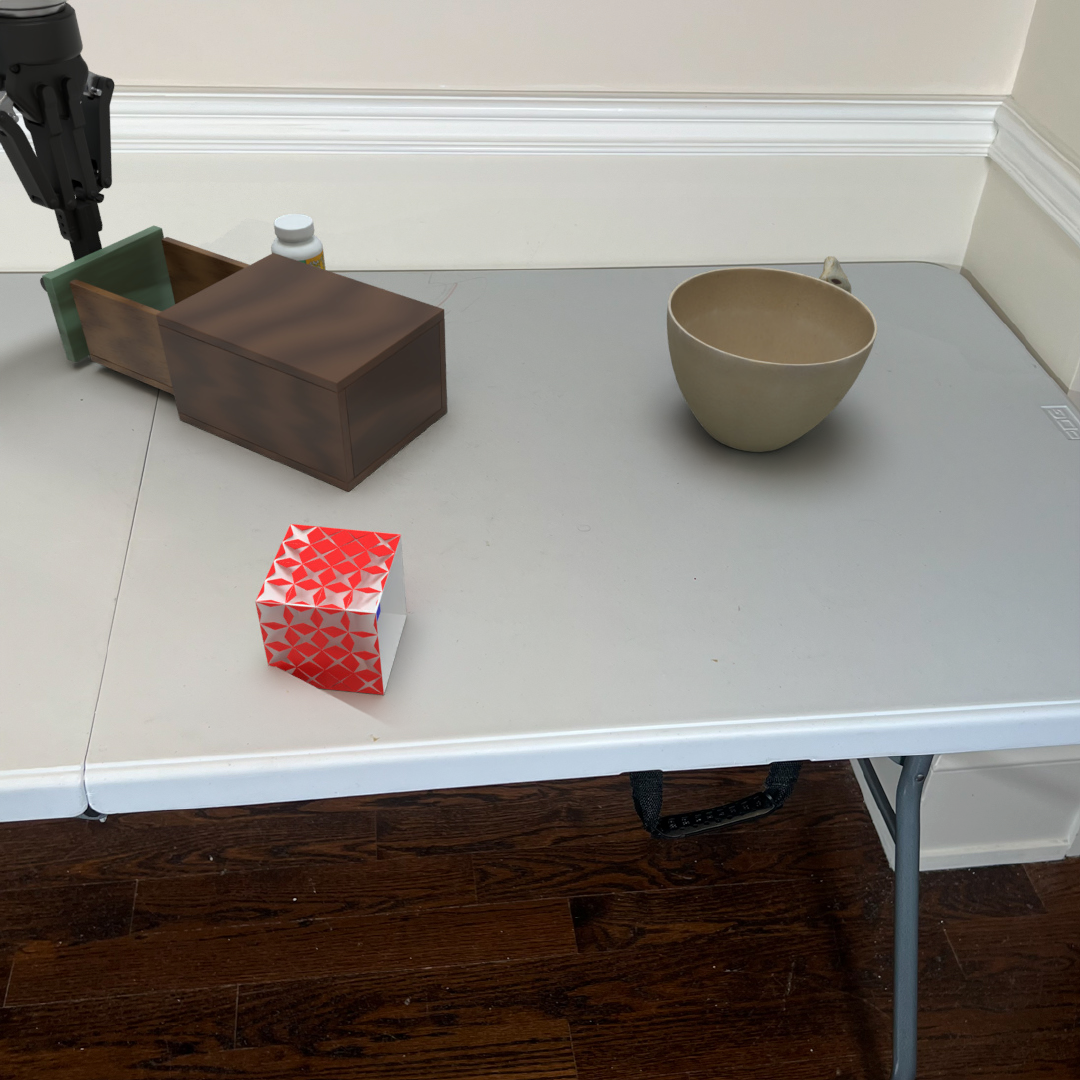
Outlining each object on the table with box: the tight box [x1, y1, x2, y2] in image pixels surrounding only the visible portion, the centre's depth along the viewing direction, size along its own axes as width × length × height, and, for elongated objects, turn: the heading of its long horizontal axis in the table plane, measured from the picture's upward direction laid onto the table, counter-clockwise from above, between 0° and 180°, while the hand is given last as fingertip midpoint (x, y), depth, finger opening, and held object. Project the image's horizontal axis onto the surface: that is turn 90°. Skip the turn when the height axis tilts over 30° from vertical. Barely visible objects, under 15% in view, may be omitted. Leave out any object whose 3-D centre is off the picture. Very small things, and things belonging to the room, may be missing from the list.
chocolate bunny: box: [818, 255, 852, 294], centre depth 107 cm, size 6×8×10 cm
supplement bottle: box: [270, 213, 326, 270], centre depth 110 cm, size 5×5×10 cm
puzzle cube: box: [254, 523, 408, 696], centre depth 72 cm, size 8×8×8 cm
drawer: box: [39, 225, 250, 396], centre depth 100 cm, size 24×14×9 cm, turn 59°
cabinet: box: [156, 252, 448, 492], centre depth 93 cm, size 20×15×11 cm
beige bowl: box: [666, 266, 878, 453], centre depth 94 cm, size 18×18×12 cm
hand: (91, 266), depth 102 cm, fingers closed
